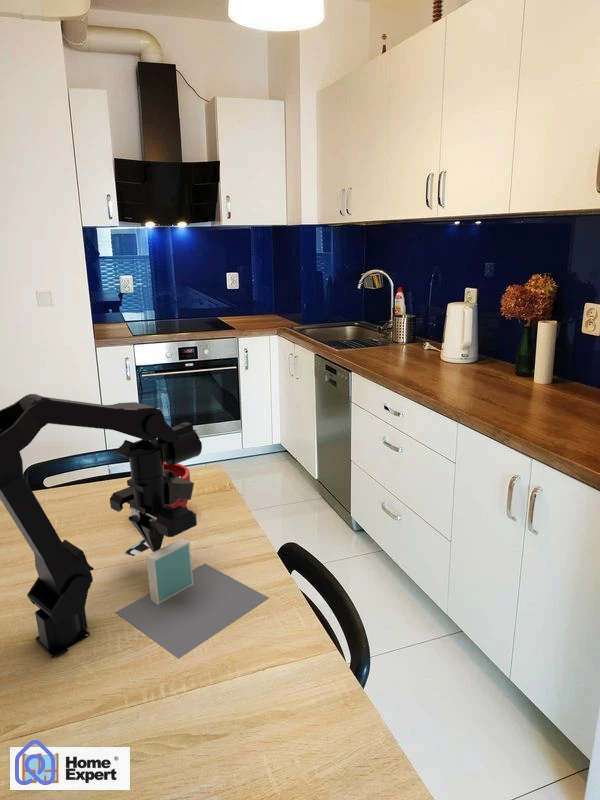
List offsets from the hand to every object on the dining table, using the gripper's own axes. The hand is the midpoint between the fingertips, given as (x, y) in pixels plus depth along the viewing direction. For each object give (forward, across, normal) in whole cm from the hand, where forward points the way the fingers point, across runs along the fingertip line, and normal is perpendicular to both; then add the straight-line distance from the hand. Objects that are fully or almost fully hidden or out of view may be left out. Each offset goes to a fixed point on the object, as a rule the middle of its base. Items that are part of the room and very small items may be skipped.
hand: (156, 551), depth 107 cm
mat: (+8, -10, 0) cm, 13 cm away
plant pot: (+8, +22, -17) cm, 29 cm away
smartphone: (+8, +9, -7) cm, 14 cm away
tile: (+7, -4, 0) cm, 8 cm away
